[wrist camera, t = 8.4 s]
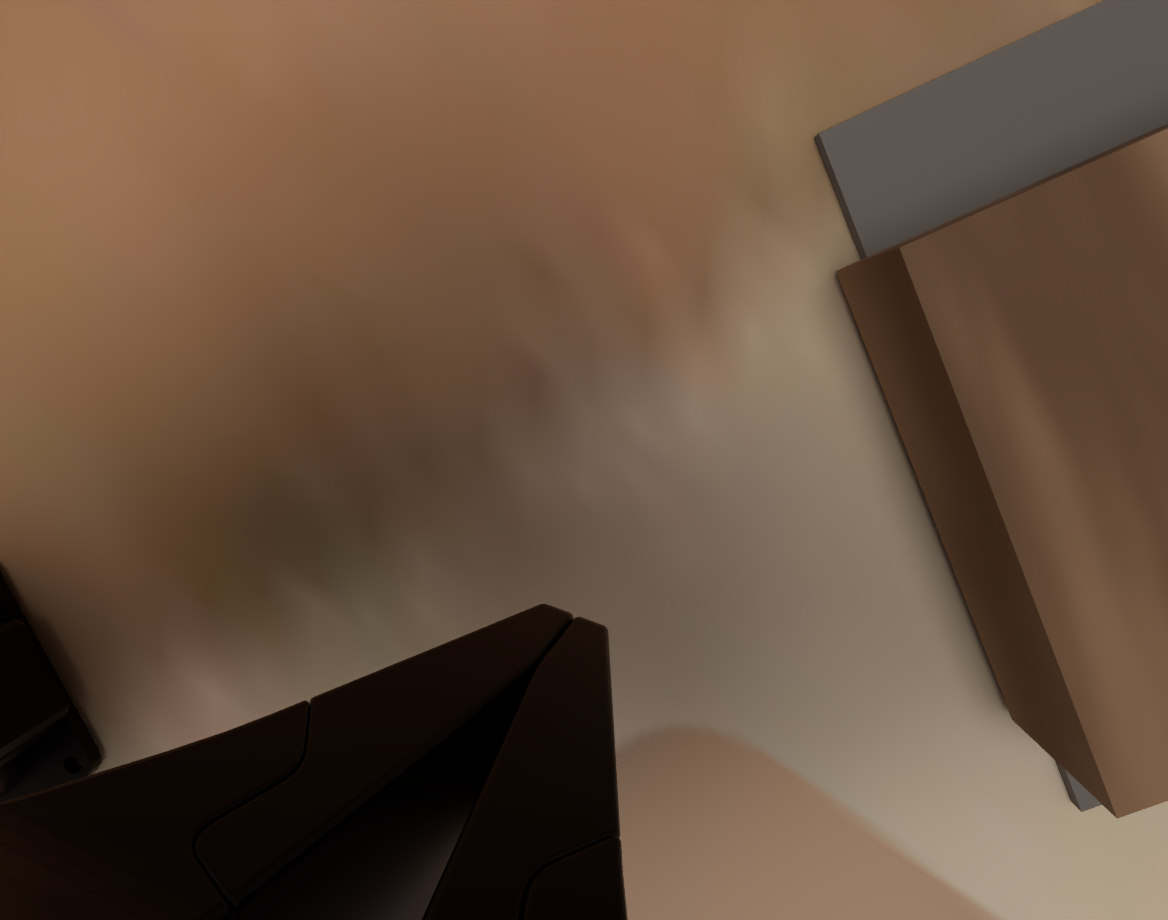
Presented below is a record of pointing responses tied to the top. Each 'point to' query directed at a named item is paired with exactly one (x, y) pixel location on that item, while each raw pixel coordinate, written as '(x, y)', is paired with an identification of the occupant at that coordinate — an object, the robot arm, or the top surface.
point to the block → (1048, 445)
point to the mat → (1002, 132)
